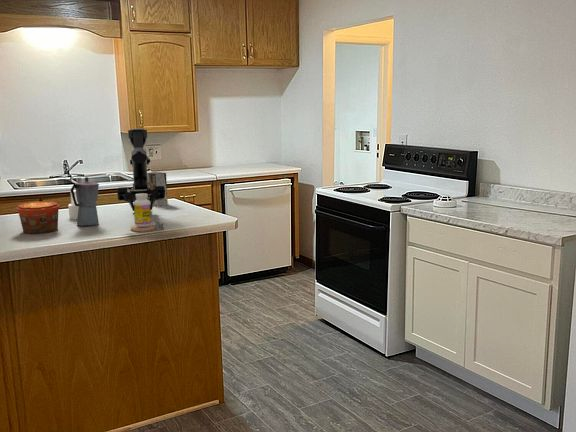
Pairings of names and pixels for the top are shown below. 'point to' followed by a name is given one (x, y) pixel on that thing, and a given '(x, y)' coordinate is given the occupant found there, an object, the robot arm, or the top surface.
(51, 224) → the food container
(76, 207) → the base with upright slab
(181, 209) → the top surface
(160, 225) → the low wall
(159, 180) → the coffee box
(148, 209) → the supplement bottle
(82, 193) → the moka pot
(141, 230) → the coaster
